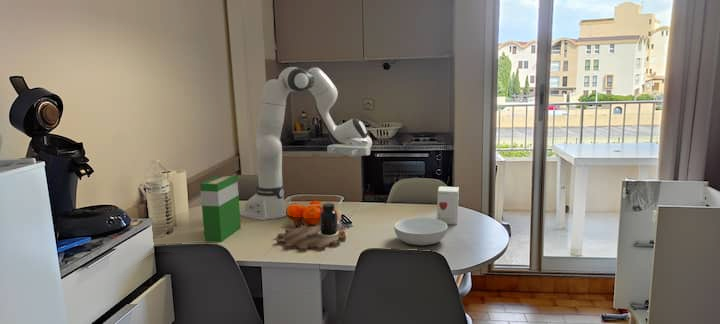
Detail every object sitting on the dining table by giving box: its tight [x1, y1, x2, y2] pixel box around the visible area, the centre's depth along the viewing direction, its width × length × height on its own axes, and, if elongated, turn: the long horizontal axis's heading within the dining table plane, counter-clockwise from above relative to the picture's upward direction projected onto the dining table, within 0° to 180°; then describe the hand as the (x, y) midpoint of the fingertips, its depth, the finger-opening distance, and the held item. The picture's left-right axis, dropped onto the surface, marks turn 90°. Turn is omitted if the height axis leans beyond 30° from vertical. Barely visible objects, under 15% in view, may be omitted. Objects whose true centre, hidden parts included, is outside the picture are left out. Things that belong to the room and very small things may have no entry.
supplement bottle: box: [319, 202, 338, 235], centre depth 201 cm, size 7×7×12 cm
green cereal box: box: [199, 173, 242, 243], centre depth 205 cm, size 18×7×24 cm, turn 168°
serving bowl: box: [393, 217, 449, 246], centre depth 194 cm, size 21×21×7 cm
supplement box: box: [436, 186, 460, 225], centre depth 218 cm, size 9×9×15 cm
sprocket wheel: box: [276, 224, 347, 253], centre depth 200 cm, size 28×28×2 cm
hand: (341, 152), depth 225 cm, fingers open, 8 cm apart
